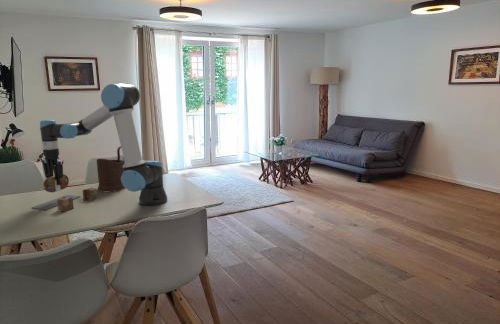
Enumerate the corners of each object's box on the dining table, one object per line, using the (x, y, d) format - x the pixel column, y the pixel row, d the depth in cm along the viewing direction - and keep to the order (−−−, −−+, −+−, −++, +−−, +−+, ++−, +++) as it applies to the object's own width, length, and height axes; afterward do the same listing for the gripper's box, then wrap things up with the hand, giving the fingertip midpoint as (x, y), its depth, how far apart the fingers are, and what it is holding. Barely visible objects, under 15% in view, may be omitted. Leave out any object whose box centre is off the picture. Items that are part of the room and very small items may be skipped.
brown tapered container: (90, 190, 225) (86, 151, 220) (115, 181, 248) (111, 145, 243) (115, 192, 220) (112, 152, 215) (138, 183, 242) (135, 146, 237)
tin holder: (97, 198, 208) (96, 188, 207) (66, 211, 187) (64, 200, 186) (90, 197, 210) (88, 187, 209) (57, 210, 189) (56, 199, 188)
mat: (80, 197, 212) (80, 196, 212) (46, 210, 189) (46, 208, 189) (67, 195, 215) (67, 194, 215) (31, 208, 193) (31, 207, 192)
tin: (47, 194, 194) (46, 179, 192) (43, 193, 195) (41, 178, 193) (69, 187, 208) (68, 173, 206) (65, 186, 209) (64, 172, 207)
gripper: (33, 149, 195) (39, 191, 200) (56, 150, 190) (61, 193, 195) (45, 146, 202) (50, 187, 207) (67, 148, 197) (72, 189, 202)
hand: (55, 190), depth 201 cm, fingers closed on tin, 3 cm apart
